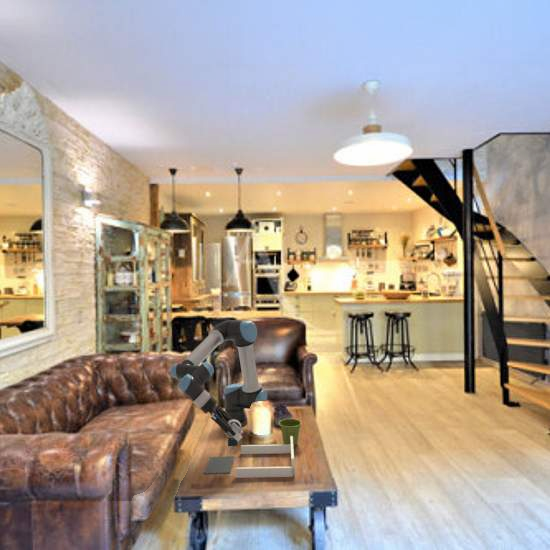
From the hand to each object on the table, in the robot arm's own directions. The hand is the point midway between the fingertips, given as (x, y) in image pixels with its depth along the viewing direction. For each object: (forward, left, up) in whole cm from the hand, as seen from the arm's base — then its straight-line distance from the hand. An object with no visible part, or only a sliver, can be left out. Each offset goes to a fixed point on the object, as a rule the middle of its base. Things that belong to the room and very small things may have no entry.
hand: (240, 436), depth 188 cm
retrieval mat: (-1, -10, -14) cm, 17 cm away
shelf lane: (-1, +12, -14) cm, 18 cm away
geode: (-56, +19, -14) cm, 61 cm away
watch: (0, -4, -3) cm, 5 cm away
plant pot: (-23, +24, -14) cm, 36 cm away
